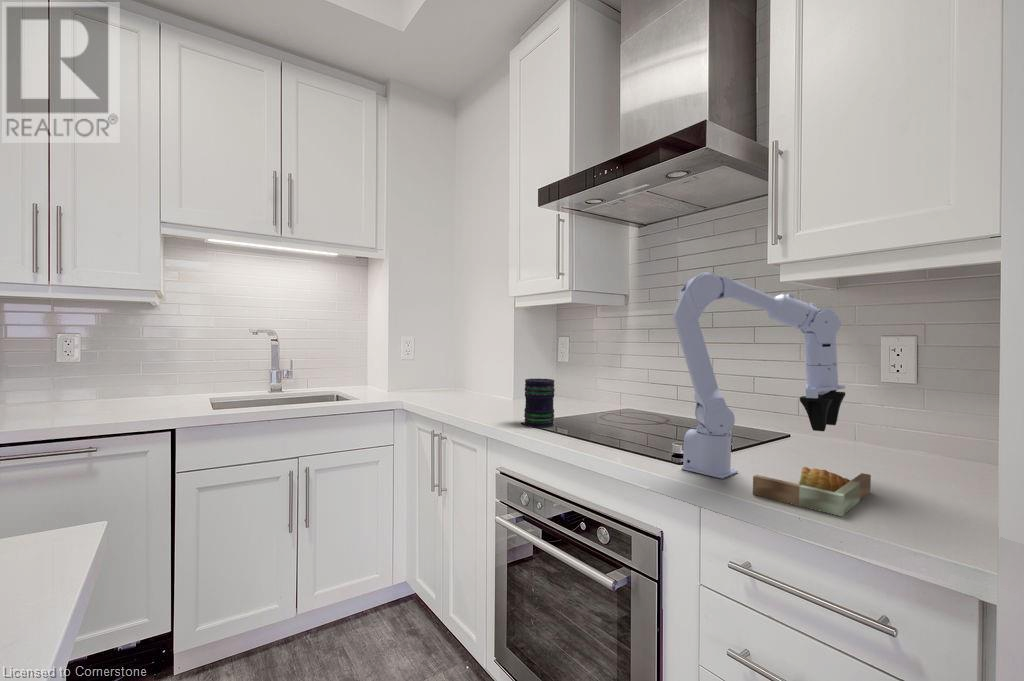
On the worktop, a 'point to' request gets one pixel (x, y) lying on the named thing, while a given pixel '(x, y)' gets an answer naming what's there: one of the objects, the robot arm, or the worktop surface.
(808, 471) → the pastry
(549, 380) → the storage jar
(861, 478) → the two-tone corner bracket
